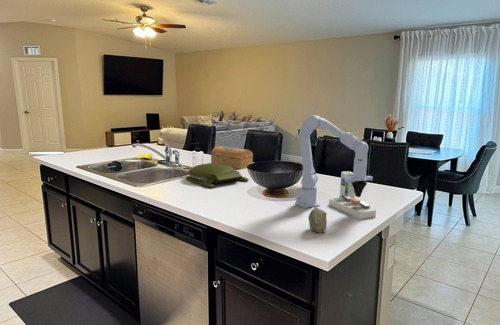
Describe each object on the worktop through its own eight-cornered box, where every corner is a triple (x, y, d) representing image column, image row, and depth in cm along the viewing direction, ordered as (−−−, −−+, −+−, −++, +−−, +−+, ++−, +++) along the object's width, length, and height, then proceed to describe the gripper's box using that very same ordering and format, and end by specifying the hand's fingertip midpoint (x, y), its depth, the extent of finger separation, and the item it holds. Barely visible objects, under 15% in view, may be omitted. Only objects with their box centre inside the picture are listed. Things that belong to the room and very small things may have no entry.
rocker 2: (364, 208, 156) (365, 206, 156) (358, 204, 160) (358, 201, 159) (369, 207, 157) (369, 205, 157) (362, 203, 161) (363, 201, 160)
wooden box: (254, 166, 262) (254, 148, 260) (239, 170, 250) (239, 151, 247) (225, 161, 281) (225, 144, 279) (210, 164, 269) (210, 146, 266)
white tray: (359, 219, 152) (360, 212, 151) (329, 204, 172) (329, 198, 171) (375, 216, 156) (376, 209, 155) (343, 202, 175) (343, 196, 175)
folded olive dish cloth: (250, 181, 217) (250, 166, 215) (209, 189, 198) (209, 173, 196) (218, 172, 243) (218, 158, 242) (179, 178, 224) (178, 163, 222)
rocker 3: (347, 201, 167) (347, 198, 166) (341, 197, 170) (341, 194, 170) (351, 200, 168) (351, 198, 167) (345, 196, 171) (346, 194, 171)
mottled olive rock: (315, 239, 135) (312, 219, 131) (303, 229, 143) (300, 209, 138) (334, 229, 138) (332, 209, 134) (322, 219, 145) (319, 200, 141)
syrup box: (338, 198, 183) (340, 171, 180) (348, 197, 185) (350, 170, 182) (345, 201, 177) (347, 174, 175) (354, 200, 179) (356, 173, 177)
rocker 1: (356, 203, 161) (356, 201, 161) (349, 201, 165) (349, 199, 165) (360, 203, 162) (360, 200, 162) (354, 201, 166) (354, 198, 166)
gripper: (353, 171, 152) (351, 200, 155) (378, 168, 158) (375, 197, 161) (343, 167, 159) (341, 196, 161) (367, 165, 165) (365, 193, 167)
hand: (357, 196), depth 162 cm, fingers closed
